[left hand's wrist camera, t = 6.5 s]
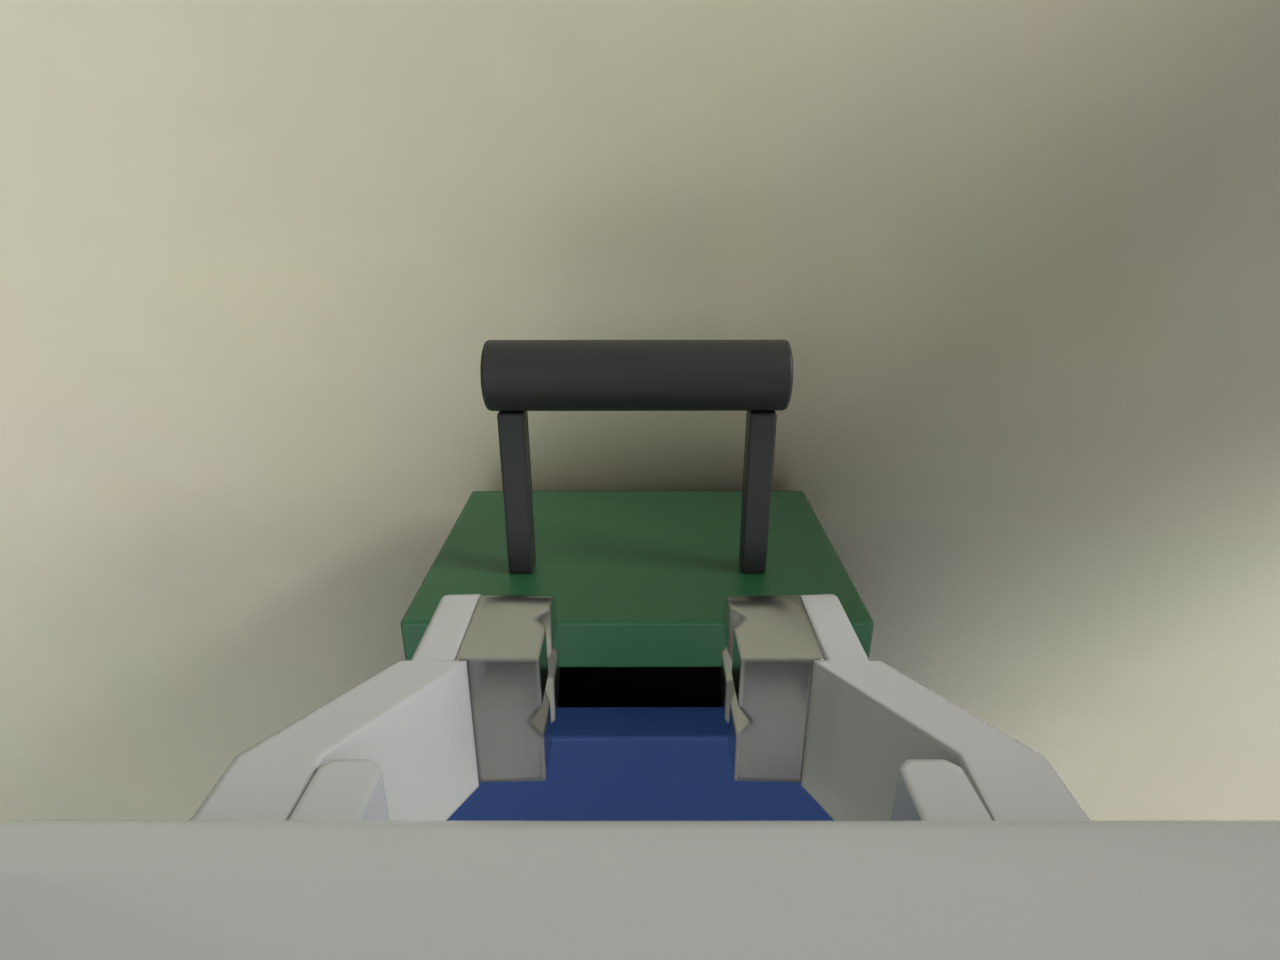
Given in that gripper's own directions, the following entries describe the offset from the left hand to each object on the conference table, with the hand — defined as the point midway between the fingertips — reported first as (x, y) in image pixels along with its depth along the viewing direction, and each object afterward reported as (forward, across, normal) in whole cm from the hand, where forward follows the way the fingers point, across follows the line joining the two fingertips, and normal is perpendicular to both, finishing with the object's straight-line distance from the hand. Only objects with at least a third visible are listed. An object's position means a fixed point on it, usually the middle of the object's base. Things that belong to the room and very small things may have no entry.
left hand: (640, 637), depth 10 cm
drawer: (+12, 0, -7) cm, 14 cm away
